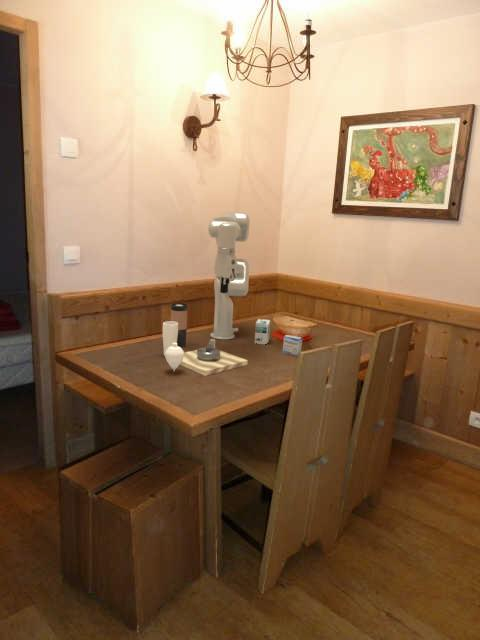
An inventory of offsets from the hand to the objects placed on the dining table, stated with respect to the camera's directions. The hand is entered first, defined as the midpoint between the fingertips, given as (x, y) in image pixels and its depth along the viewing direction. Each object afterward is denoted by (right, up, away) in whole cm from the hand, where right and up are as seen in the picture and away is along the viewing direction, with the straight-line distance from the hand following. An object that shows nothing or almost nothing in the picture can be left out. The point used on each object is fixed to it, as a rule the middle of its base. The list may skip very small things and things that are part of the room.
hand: (224, 292), depth 208 cm
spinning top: (-19, -33, -22) cm, 44 cm away
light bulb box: (+18, -24, +30) cm, 43 cm away
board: (-7, -31, -8) cm, 32 cm away
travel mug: (-23, -25, +15) cm, 37 cm away
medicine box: (+32, -29, +12) cm, 44 cm away
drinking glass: (-24, -28, -2) cm, 37 cm away
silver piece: (-6, -27, -4) cm, 28 cm away
